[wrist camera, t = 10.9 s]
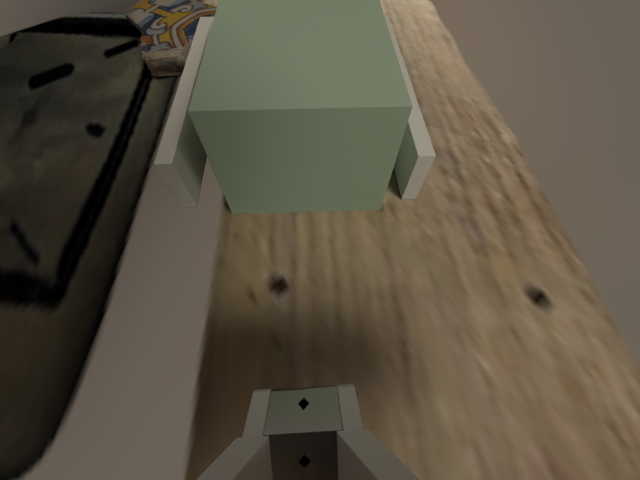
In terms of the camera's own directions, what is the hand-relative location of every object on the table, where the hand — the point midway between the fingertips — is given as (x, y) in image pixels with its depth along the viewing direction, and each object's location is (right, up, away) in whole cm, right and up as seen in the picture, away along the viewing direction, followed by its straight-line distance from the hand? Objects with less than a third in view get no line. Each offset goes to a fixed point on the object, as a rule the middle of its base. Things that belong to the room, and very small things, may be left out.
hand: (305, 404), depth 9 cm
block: (-1, +12, +14) cm, 19 cm away
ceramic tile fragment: (-13, +24, +22) cm, 35 cm away
